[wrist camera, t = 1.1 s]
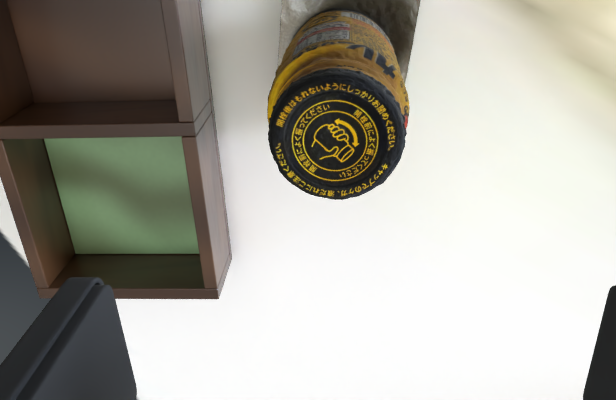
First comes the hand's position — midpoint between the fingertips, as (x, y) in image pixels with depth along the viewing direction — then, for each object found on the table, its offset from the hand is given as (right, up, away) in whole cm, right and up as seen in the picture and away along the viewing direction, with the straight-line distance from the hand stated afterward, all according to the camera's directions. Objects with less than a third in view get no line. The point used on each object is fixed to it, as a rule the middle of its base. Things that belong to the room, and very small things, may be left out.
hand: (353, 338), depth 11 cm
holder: (-12, +8, +23) cm, 27 cm away
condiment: (+1, +11, +20) cm, 23 cm away
